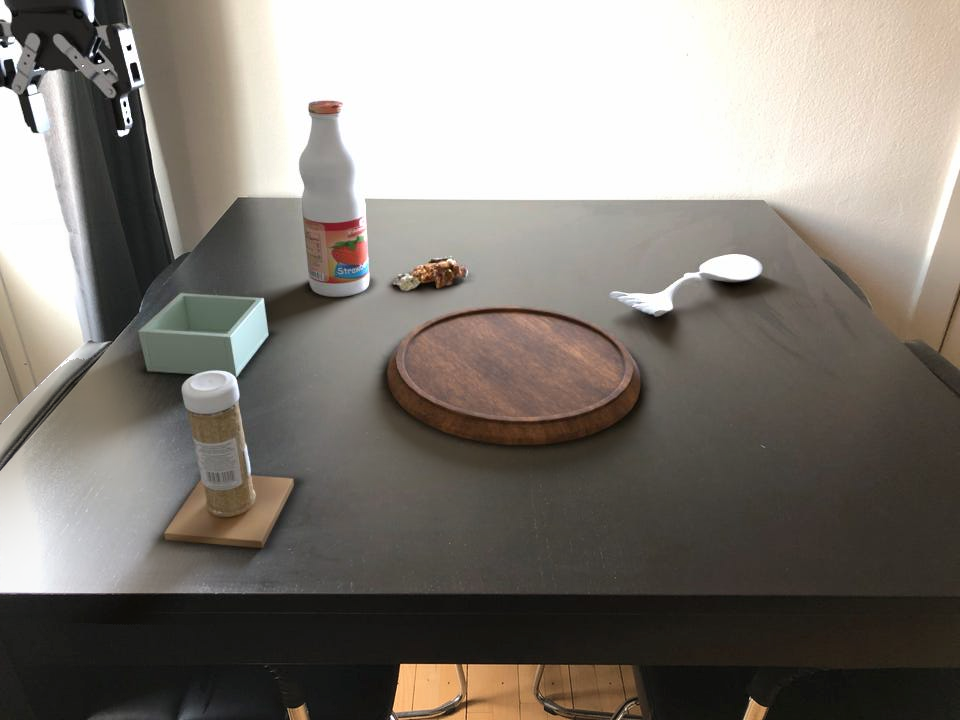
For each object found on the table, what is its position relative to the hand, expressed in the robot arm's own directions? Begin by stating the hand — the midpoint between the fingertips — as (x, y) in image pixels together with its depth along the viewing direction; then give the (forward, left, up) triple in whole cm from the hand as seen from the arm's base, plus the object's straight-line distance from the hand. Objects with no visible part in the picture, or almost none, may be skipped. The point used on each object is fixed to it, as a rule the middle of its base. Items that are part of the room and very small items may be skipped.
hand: (81, 133), depth 76 cm
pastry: (+30, +37, -30) cm, 56 cm away
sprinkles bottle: (+20, -21, -29) cm, 41 cm away
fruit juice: (+16, +33, -30) cm, 48 cm away
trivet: (+20, -21, -30) cm, 42 cm away
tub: (+5, +9, -30) cm, 32 cm away
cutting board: (+45, +9, -30) cm, 55 cm away
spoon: (+72, +38, -30) cm, 87 cm away
